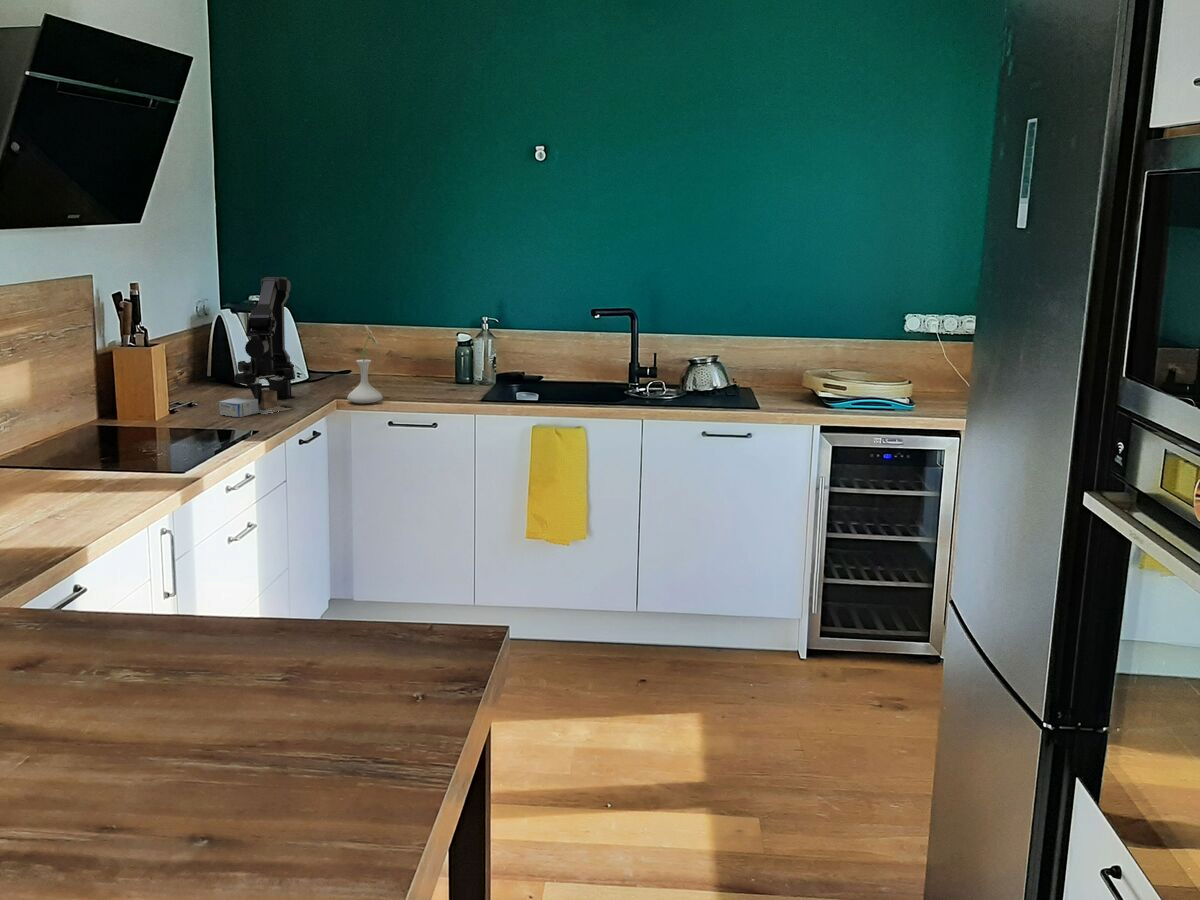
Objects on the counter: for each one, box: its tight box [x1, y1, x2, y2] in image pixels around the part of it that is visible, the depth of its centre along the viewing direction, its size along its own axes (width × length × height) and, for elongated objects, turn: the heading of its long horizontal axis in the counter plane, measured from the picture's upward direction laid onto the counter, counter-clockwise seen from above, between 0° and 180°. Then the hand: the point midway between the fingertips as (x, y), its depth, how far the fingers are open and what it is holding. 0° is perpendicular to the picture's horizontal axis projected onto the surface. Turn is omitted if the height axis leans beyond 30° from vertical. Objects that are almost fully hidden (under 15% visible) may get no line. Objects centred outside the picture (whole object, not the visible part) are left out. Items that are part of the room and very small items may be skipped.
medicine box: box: [218, 396, 259, 418], centre depth 357 cm, size 8×4×9 cm
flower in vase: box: [346, 324, 383, 404], centre depth 378 cm, size 13×11×25 cm
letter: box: [257, 408, 280, 415], centre depth 366 cm, size 12×14×1 cm
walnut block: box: [253, 389, 278, 409], centre depth 366 cm, size 5×5×5 cm
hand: (265, 403), depth 366 cm, fingers closed on walnut block, 5 cm apart
